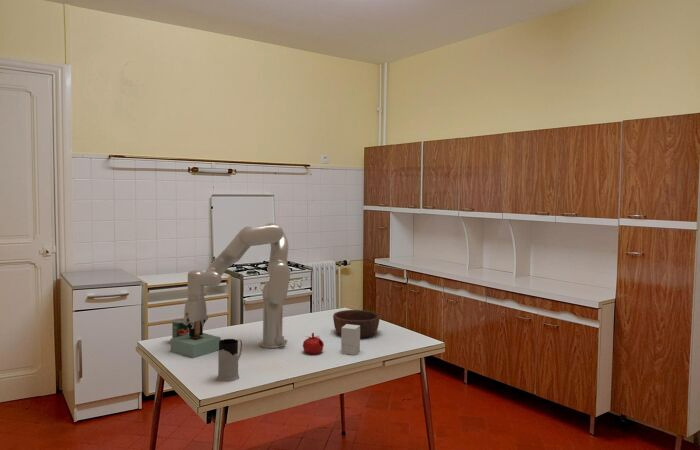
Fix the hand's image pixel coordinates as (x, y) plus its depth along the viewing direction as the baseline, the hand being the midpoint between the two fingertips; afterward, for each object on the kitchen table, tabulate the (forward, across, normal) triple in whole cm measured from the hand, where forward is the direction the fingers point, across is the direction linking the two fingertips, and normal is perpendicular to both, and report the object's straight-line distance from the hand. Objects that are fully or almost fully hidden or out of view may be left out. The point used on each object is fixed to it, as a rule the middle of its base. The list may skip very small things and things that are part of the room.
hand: (195, 335), depth 250 cm
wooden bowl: (+8, -72, +43) cm, 84 cm away
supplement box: (+8, -43, +59) cm, 73 cm away
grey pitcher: (+7, +13, +38) cm, 41 cm away
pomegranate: (+8, -32, +45) cm, 56 cm away
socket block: (+7, 0, 0) cm, 7 cm away
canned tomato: (+7, -4, -16) cm, 18 cm away
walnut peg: (+4, 0, 0) cm, 4 cm away
